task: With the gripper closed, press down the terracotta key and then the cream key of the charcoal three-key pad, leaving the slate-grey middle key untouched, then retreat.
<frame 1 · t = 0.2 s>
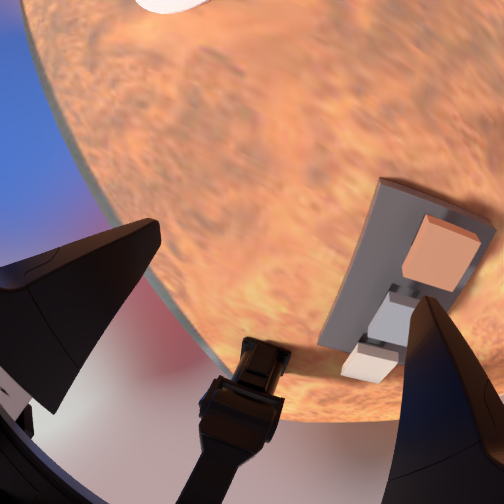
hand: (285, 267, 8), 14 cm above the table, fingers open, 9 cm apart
keypad board: (398, 288, 23), on the table
key slate: (401, 316, 21), point 4 cm above the table, slide at 0.0 cm
key cream: (369, 360, 25), point 4 cm above the table, slide at 0.0 cm
key terracotta: (439, 251, 16), point 4 cm above the table, slide at 0.0 cm
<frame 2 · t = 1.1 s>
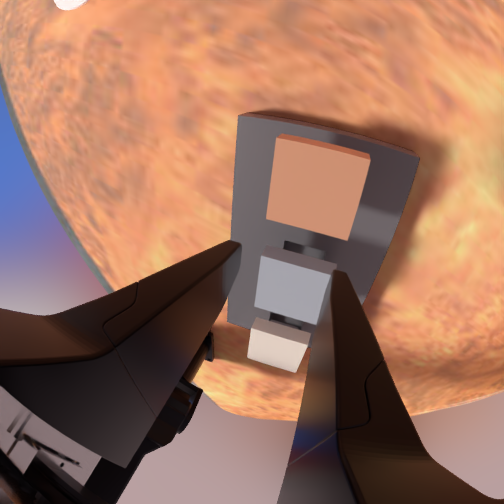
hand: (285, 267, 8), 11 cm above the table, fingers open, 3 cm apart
keypad board: (305, 251, 21), on the table
key slate: (295, 281, 18), point 4 cm above the table, slide at 0.0 cm
key cream: (278, 341, 22), point 4 cm above the table, slide at 0.0 cm
key terracotta: (317, 183, 14), point 4 cm above the table, slide at 0.0 cm
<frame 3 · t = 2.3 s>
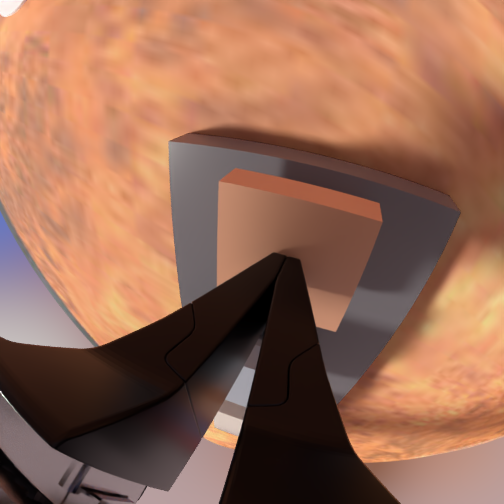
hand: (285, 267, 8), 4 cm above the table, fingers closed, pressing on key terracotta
keypad board: (281, 321, 15), on the table
key slate: (261, 373, 13), point 4 cm above the table, slide at 0.0 cm
key cream: (250, 417, 17), point 4 cm above the table, slide at 0.0 cm
key terracotta: (293, 245, 9), point 3 cm above the table, slide at 1.0 cm, touching gripper
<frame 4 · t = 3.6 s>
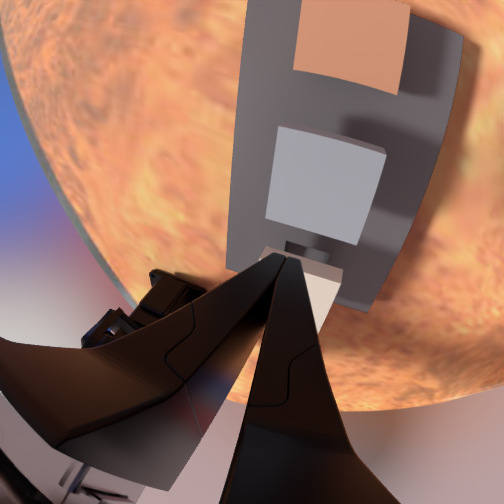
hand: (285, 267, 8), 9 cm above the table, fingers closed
keypad board: (331, 158, 15), on the table
key slate: (324, 179, 12), point 4 cm above the table, slide at 0.0 cm
key cream: (296, 286, 17), point 4 cm above the table, slide at 0.0 cm
key terracotta: (352, 37, 9), point 2 cm above the table, slide at 1.2 cm
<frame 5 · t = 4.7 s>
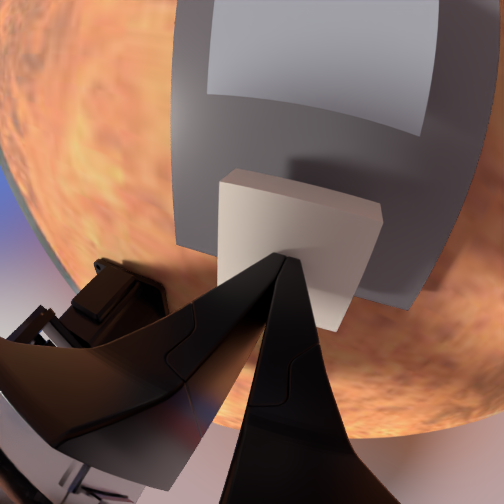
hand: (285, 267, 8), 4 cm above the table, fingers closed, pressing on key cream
keypad board: (336, 41, 7), on the table
key slate: (328, 18, 4), point 4 cm above the table, slide at 0.0 cm
key cream: (294, 246, 9), point 3 cm above the table, slide at 0.9 cm, touching gripper
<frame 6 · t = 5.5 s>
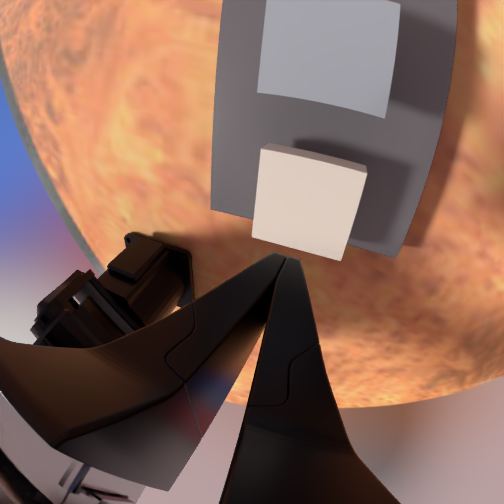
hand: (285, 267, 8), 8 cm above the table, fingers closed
keypad board: (335, 57, 11), on the table
key slate: (330, 47, 8), point 4 cm above the table, slide at 0.0 cm
key cream: (308, 197, 13), point 2 cm above the table, slide at 1.2 cm
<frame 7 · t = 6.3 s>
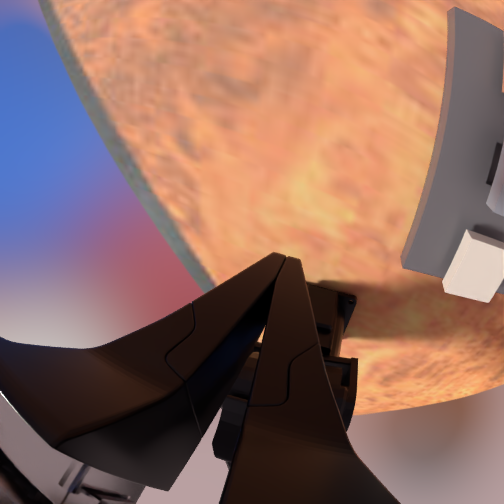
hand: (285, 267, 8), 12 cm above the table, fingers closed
keypad board: (498, 163, 12), on the table
key cream: (477, 264, 15), point 2 cm above the table, slide at 1.2 cm
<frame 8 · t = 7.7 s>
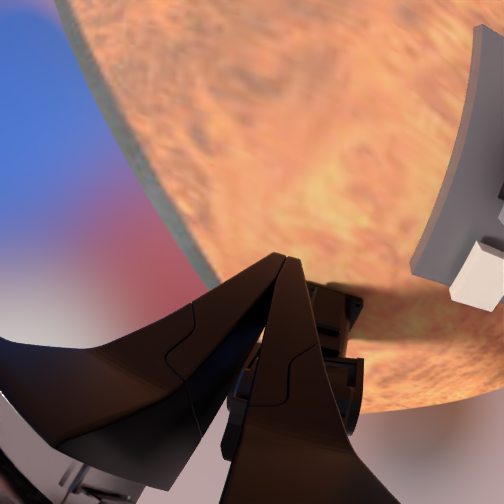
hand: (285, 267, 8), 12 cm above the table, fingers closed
key cream: (483, 274, 15), point 2 cm above the table, slide at 1.2 cm
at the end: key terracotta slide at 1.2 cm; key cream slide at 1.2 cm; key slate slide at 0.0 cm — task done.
